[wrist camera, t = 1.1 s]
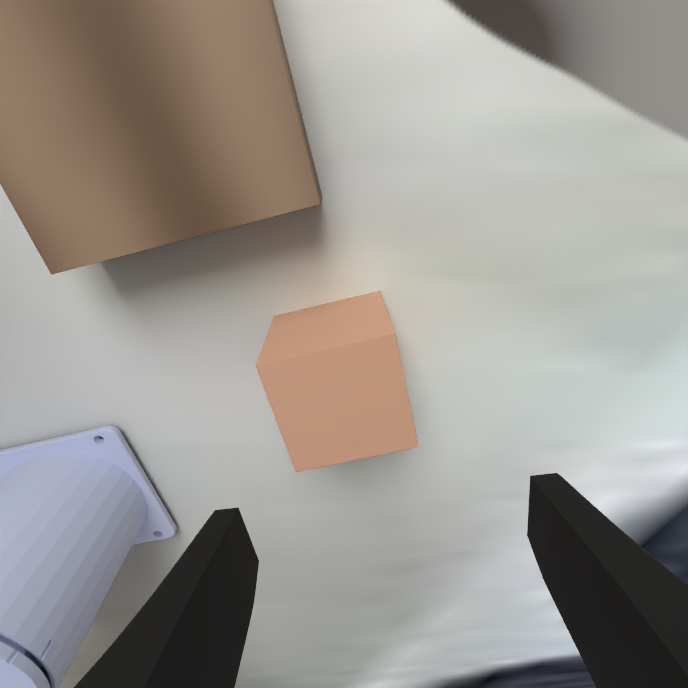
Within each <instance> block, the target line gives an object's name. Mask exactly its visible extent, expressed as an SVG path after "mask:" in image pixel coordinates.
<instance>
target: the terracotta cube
mask: <svg viewBox="0 0 688 688" xmlns="http://www.w3.org/2000/svg"><path fill="white" fill-rule="evenodd" d="M256 368H257V371H258V373H259V376H260V378H261V381H262V384H263V386H264V389H265V392H266V394H267V397H268V400H269V402H270V405H271V407H272V410H273V413H274V415H275V418H276V421H277V423H278V426H279V429H280V431H281V434H282V436H283V439H284V442H285V444H286V447H287V450H288V452H289V455H290V458H291V460H292V463H293V465H294V468H295V471H296V472H300V471H305V470H310V469H315V468H320V467H324V466H329V465H334V464H339V463H344V462H348V461H353V460H358V459H363V458H368V457H372V456H377V455H382V454H387V453H392V452H397V451H401V450H406V449H411V448H416V447H419V446H418V441H417V437H416V432H415V427H414V422H413V417H412V412H411V407H410V403H409V398H408V393H407V388H406V383H405V378H404V374H403V369H402V364H401V359H400V354H399V349H398V344H397V340H396V335H395V331H394V329H393V326H392V323H391V320H390V317H389V315H388V312H387V309H386V306H385V303H384V301H383V298H382V295H381V292H380V291H377V292H373V293H369V294H365V295H360V296H356V297H352V298H348V299H344V300H340V301H335V302H331V303H327V304H323V305H319V306H315V307H310V308H306V309H302V310H298V311H294V312H290V313H285V314H281V315H277V316H274V318H273V321H272V323H271V326H270V329H269V331H268V334H267V337H266V339H265V342H264V345H263V347H262V350H261V353H260V355H259V358H258V361H257V363H256Z"/></svg>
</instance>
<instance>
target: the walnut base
mask: <svg viewBox="0 0 688 688" xmlns="http://www.w3.org/2000/svg"><path fill="white" fill-rule="evenodd" d="M0 184H1V186H2V187H3V189H4V191H5V193H6V195H7V196H8V198H9V200H10V202H11V203H12V205H13V207H14V209H15V211H16V212H17V214H18V216H19V218H20V219H21V221H22V223H23V225H24V227H25V228H26V230H27V232H28V234H29V235H30V237H31V239H32V241H33V243H34V244H35V246H36V248H37V250H38V251H39V253H40V255H41V257H42V258H43V260H44V262H45V264H46V266H47V267H48V269H49V271H50V273H51V274H55V273H59V272H63V271H67V270H70V269H74V268H78V267H82V266H86V265H90V264H93V263H97V262H101V261H105V260H109V259H113V258H116V257H120V256H124V255H128V254H132V253H136V252H139V251H143V250H147V249H151V248H155V247H159V246H162V245H166V244H170V243H174V242H178V241H182V240H185V239H189V238H193V237H197V236H201V235H205V234H208V233H212V232H216V231H220V230H224V229H228V228H231V227H235V226H239V225H243V224H247V223H251V222H254V221H258V220H262V219H266V218H270V217H274V216H277V215H281V214H285V213H289V212H293V211H296V210H300V209H304V208H308V207H312V206H316V205H319V204H320V203H321V199H322V194H321V190H320V186H319V182H318V178H317V174H316V170H315V167H314V163H313V159H312V155H311V151H310V147H309V143H308V139H307V135H306V131H305V127H304V123H303V119H302V115H301V111H300V107H299V103H298V99H297V95H296V91H295V87H294V83H293V79H292V75H291V71H290V67H289V63H288V59H287V55H286V51H285V47H284V43H283V39H282V35H281V31H280V27H279V23H278V19H277V15H276V12H275V8H274V4H273V0H0Z"/></svg>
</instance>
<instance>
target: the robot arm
mask: <svg viewBox="0 0 688 688" xmlns="http://www.w3.org/2000/svg"><path fill="white" fill-rule="evenodd" d="M99 436H101V437H103V438H104V439H101V438H100V437H99ZM176 530H177V527H176V525H175V523H174V522H173V520H172V518H171V516H170V515H169V513H168V511H167V510H166V508H165V506H164V505H163V503H162V501H161V499H160V498H159V496H158V494H157V493H156V491H155V489H154V488H153V486H152V484H151V482H150V481H149V479H148V477H147V476H146V474H145V472H144V471H143V469H142V467H141V465H140V464H139V462H138V460H137V459H136V457H135V455H134V454H133V452H132V450H131V449H130V447H129V445H128V443H127V442H126V440H125V438H124V437H123V435H122V433H121V432H120V430H119V429H118V428H116V427H114V426H104V427H100V428H96V429H91V430H87V431H82V432H78V433H73V434H69V435H65V436H60V437H56V438H51V439H47V440H43V441H38V442H34V443H29V444H25V445H21V446H16V447H12V448H7V449H3V450H0V688H59V686H60V684H61V682H62V680H63V678H64V676H65V674H66V672H67V671H68V669H69V667H70V665H71V663H72V661H73V659H74V657H75V655H76V653H77V651H78V649H79V647H80V645H81V643H82V642H83V640H84V638H85V636H86V634H87V632H88V630H89V628H90V626H91V624H92V622H93V620H94V618H95V616H96V615H97V613H98V611H99V609H100V607H101V605H102V603H103V601H104V599H105V597H106V595H107V593H108V591H109V589H110V588H111V586H112V584H113V582H114V580H115V578H116V576H117V574H118V572H119V570H120V568H121V566H122V564H123V562H124V561H125V559H126V557H127V555H128V553H129V551H130V549H131V547H132V545H137V544H142V543H147V542H152V541H157V540H162V539H167V538H171V537H173V536H174V535H175V532H176ZM527 536H528V538H529V541H530V544H531V547H532V549H533V552H534V555H535V558H536V561H537V563H538V566H539V568H540V571H541V574H542V576H543V579H544V581H545V583H546V585H547V588H548V590H549V592H550V594H551V596H552V598H553V600H554V602H555V604H556V606H557V608H558V610H559V612H560V614H561V616H562V618H563V620H564V623H565V625H566V627H567V629H568V631H569V633H570V635H571V637H572V639H573V641H574V643H575V645H576V647H577V649H578V651H579V653H580V655H581V657H582V659H583V661H584V663H585V665H586V667H587V669H588V671H589V673H590V675H591V677H592V679H593V681H594V683H595V685H596V687H597V688H688V584H686V583H685V582H684V581H683V580H681V579H680V578H679V577H677V576H676V575H675V574H674V573H672V572H671V571H670V570H669V569H667V568H666V567H665V566H664V565H662V564H661V563H660V562H659V561H657V560H656V559H655V558H654V557H653V556H651V555H650V554H649V553H648V552H647V551H645V550H644V549H643V548H642V547H641V546H640V545H638V544H637V543H636V542H635V541H634V540H632V539H631V538H630V537H629V536H628V535H626V534H625V533H624V532H623V531H622V530H621V529H619V528H618V527H617V526H616V525H615V524H614V523H612V522H611V521H610V520H609V519H608V518H607V517H606V516H605V515H603V514H602V513H601V512H600V511H599V510H598V509H597V508H596V507H594V506H593V505H592V504H591V503H590V502H589V501H588V500H587V499H586V498H584V497H583V496H582V495H581V494H580V493H579V492H578V491H577V490H576V489H575V488H573V487H572V486H571V485H570V484H569V483H568V482H567V481H566V480H565V479H564V478H562V477H561V476H560V475H559V474H557V473H553V474H544V475H535V476H530V494H529V513H528V532H527ZM258 564H259V560H258V558H257V555H256V553H255V550H254V547H253V545H252V542H251V540H250V537H249V534H248V532H247V529H246V526H245V524H244V521H243V519H242V516H241V513H240V511H239V508H231V509H222V510H215V511H214V513H213V514H212V515H211V516H210V518H209V519H208V520H207V522H206V523H205V524H204V526H203V527H202V529H201V530H200V531H199V533H198V534H197V535H196V537H195V538H194V540H193V541H192V542H191V544H190V545H189V546H188V548H187V549H186V551H185V552H184V553H183V555H182V556H181V557H180V559H179V560H178V561H177V563H176V564H175V566H174V567H173V568H172V569H171V571H170V572H169V573H168V575H167V576H166V577H165V579H164V580H163V581H162V583H161V584H160V585H159V587H158V588H157V589H156V591H155V592H154V593H153V595H152V596H151V597H150V598H149V600H148V601H147V602H146V603H145V605H144V606H143V607H142V608H141V610H140V611H139V612H138V613H137V615H136V616H135V617H134V618H133V619H132V621H131V622H130V623H129V624H128V626H127V627H126V628H125V629H124V631H123V632H122V633H121V634H120V635H119V637H118V638H117V639H116V640H115V641H114V643H113V644H112V645H111V646H110V647H109V649H108V650H107V651H106V652H105V653H104V654H103V655H102V657H101V658H100V659H99V660H98V661H97V662H96V663H95V665H94V666H93V667H92V668H91V669H90V670H89V671H88V672H87V674H86V675H85V676H84V677H83V678H82V679H81V680H80V681H79V682H78V683H77V685H76V686H75V687H74V688H234V687H235V683H236V678H237V674H238V670H239V666H240V661H241V657H242V653H243V649H244V644H245V640H246V636H247V631H248V627H249V623H250V618H251V614H252V609H253V604H254V597H255V590H256V582H257V573H258Z"/></svg>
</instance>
